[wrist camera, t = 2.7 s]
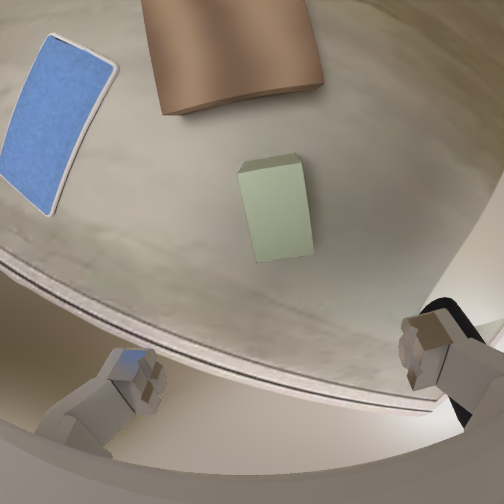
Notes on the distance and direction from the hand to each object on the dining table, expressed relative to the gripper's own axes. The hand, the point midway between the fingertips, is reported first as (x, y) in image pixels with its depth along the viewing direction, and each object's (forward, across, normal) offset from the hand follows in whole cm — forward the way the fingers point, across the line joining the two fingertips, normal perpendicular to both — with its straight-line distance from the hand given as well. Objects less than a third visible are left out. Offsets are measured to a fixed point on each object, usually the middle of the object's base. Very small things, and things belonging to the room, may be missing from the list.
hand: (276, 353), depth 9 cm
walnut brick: (+20, +1, -15) cm, 25 cm away
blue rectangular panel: (+20, +23, -14) cm, 33 cm away
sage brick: (+20, 0, 0) cm, 20 cm away
